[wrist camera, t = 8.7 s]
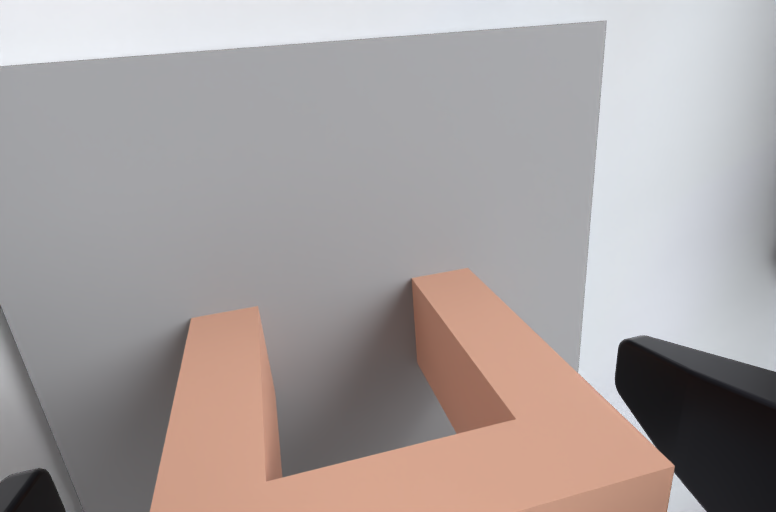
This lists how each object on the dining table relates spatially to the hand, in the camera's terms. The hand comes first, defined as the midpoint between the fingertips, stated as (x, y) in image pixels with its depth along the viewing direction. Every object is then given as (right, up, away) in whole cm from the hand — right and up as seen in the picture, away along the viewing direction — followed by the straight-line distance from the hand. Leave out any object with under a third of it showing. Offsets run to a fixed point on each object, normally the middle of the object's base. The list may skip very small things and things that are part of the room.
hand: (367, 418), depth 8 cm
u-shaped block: (-1, +1, +2) cm, 2 cm away
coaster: (-1, +1, +3) cm, 3 cm away
